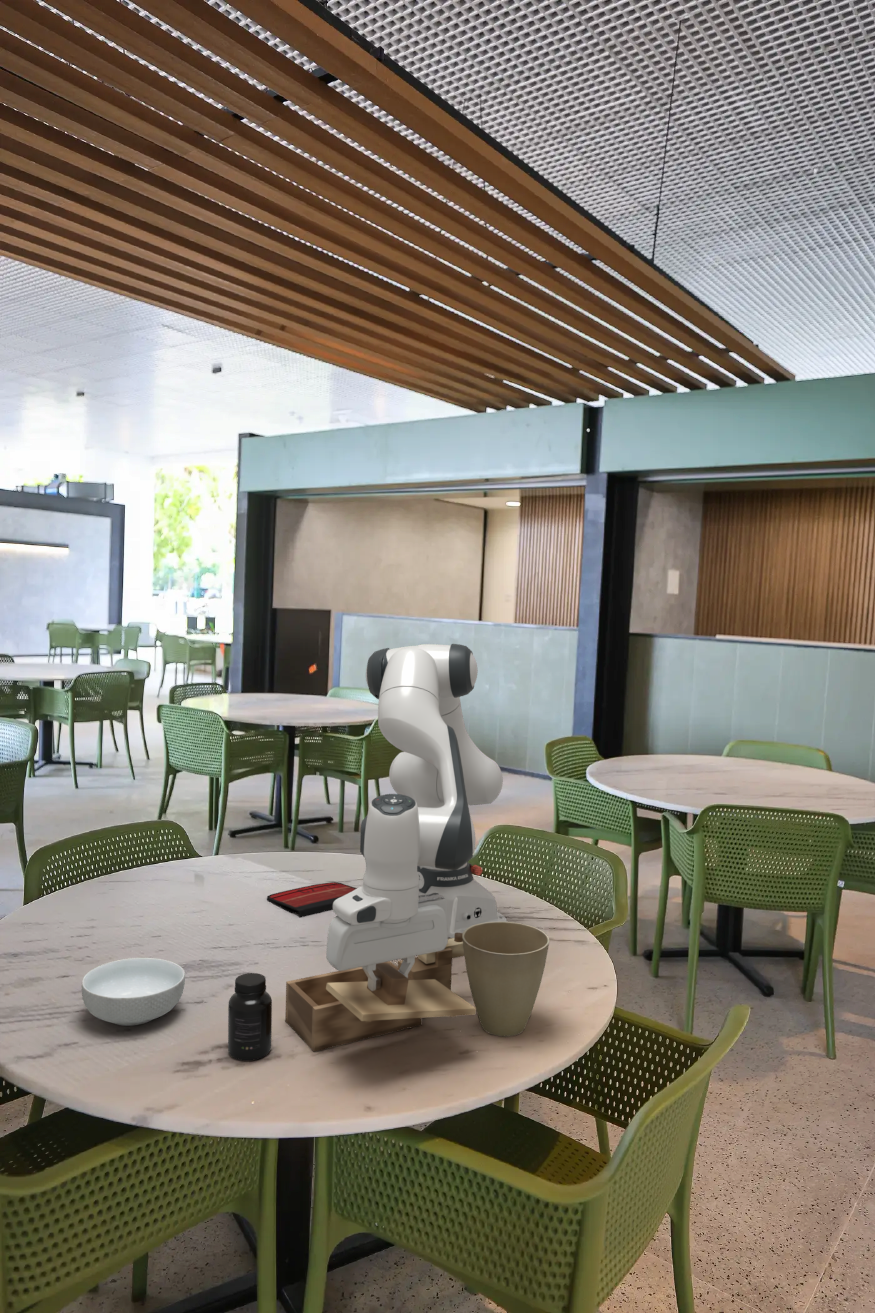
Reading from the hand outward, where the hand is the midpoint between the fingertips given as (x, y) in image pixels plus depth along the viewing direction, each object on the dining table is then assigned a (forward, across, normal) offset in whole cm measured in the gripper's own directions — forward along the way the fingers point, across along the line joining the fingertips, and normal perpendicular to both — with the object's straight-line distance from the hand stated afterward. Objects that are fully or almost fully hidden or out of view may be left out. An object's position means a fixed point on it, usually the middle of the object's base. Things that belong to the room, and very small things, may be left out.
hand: (387, 986), depth 146 cm
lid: (+4, -2, 0) cm, 5 cm away
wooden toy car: (+3, -19, -13) cm, 24 cm away
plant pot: (+12, -23, 0) cm, 26 cm away
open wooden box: (+12, -5, -14) cm, 19 cm away
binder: (+13, -22, -74) cm, 79 cm away
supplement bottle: (+12, +18, -12) cm, 25 cm away
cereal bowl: (+12, +31, -34) cm, 47 cm away
